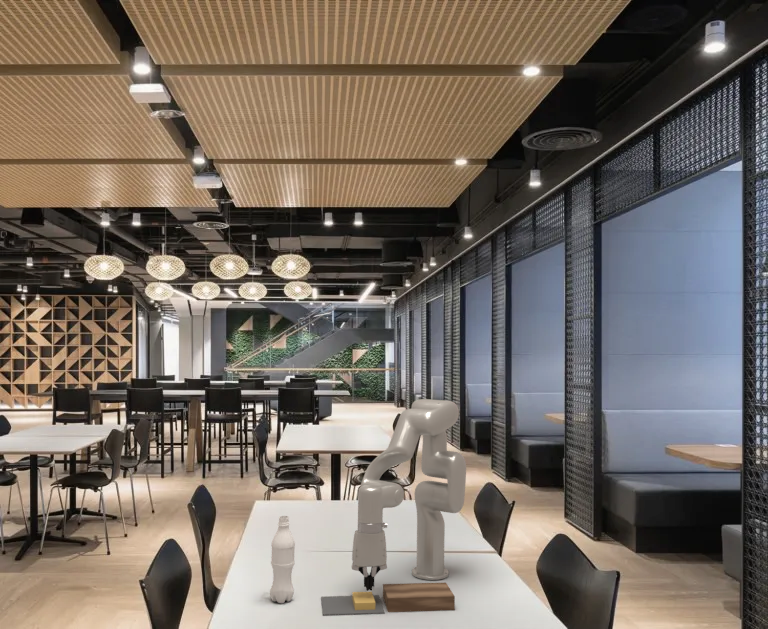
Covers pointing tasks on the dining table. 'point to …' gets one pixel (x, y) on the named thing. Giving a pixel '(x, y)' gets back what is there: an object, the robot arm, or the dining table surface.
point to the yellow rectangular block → (363, 600)
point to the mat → (347, 606)
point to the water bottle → (282, 562)
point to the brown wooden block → (418, 597)
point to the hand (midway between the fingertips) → (368, 589)
